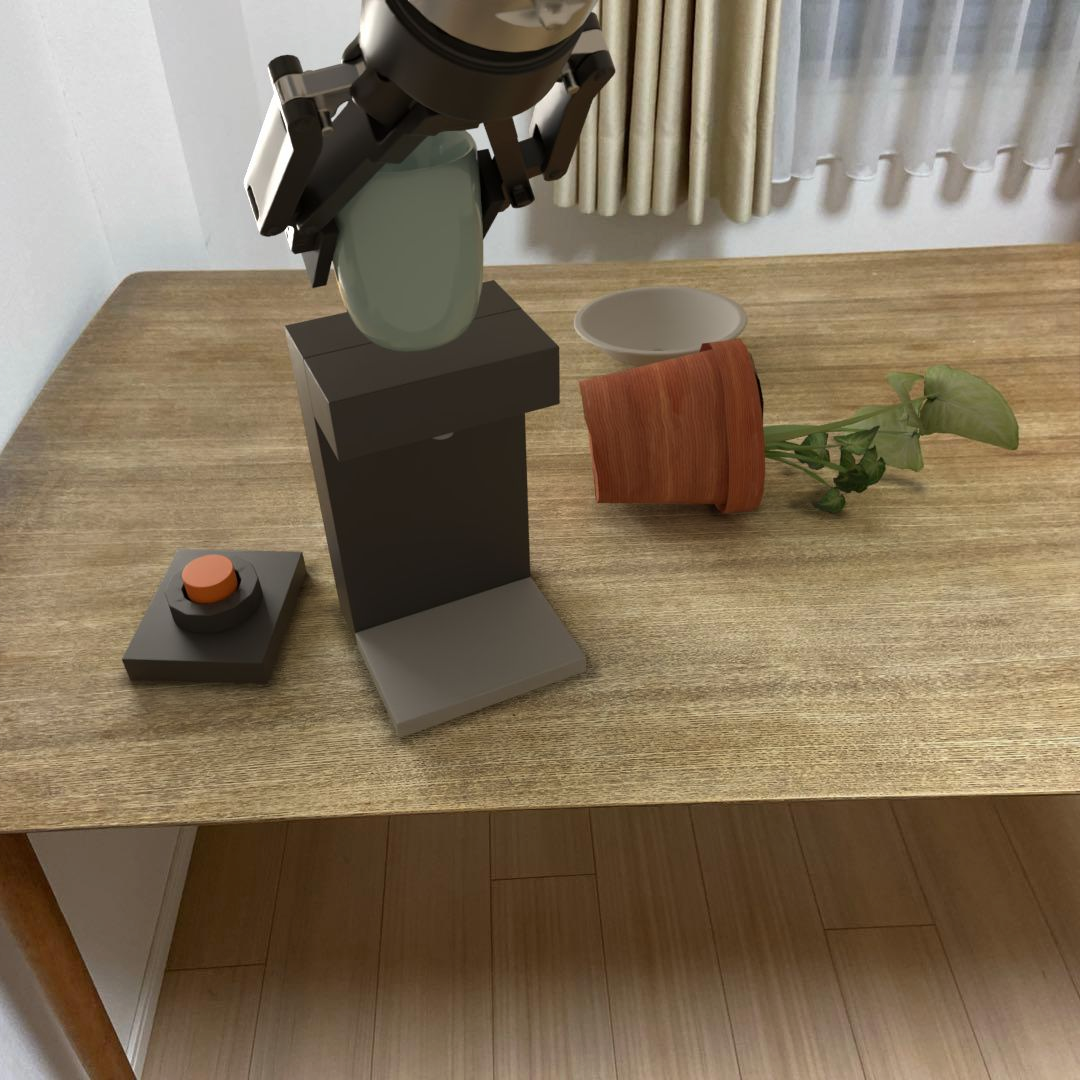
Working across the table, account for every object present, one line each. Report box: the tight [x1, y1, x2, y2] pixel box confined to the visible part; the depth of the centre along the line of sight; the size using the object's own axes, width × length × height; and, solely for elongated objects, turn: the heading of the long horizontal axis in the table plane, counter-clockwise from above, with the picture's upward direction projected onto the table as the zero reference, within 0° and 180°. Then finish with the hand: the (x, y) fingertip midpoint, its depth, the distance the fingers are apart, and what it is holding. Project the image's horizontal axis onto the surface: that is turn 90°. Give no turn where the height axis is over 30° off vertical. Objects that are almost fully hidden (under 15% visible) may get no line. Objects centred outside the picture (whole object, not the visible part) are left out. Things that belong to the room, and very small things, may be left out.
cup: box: [331, 130, 484, 352], centre depth 52 cm, size 8×8×10 cm
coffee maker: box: [284, 279, 587, 739], centre depth 67 cm, size 14×14×24 cm
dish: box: [573, 285, 748, 367], centre depth 104 cm, size 18×14×5 cm
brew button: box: [182, 555, 238, 604], centre depth 74 cm, size 4×4×2 cm
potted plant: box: [577, 338, 1020, 515], centre depth 84 cm, size 16×15×35 cm
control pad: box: [121, 548, 308, 685], centre depth 76 cm, size 10×12×4 cm
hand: (388, 246), depth 55 cm, fingers closed on cup, 8 cm apart
